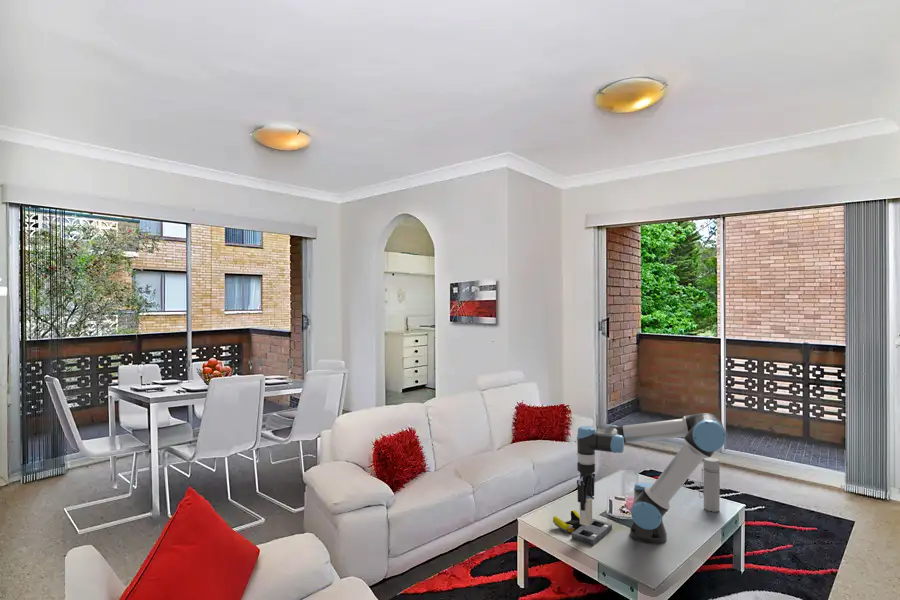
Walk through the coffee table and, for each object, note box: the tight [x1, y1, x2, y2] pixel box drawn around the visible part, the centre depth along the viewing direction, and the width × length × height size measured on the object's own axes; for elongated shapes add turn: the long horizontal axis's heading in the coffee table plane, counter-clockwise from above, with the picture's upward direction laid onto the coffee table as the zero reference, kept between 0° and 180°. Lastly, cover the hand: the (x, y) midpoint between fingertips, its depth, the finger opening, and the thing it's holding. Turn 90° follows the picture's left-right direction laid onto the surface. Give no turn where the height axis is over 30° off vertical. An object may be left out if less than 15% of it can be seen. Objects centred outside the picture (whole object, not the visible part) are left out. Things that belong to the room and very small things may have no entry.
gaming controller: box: [552, 509, 582, 533], centre depth 241 cm, size 15×6×10 cm
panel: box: [571, 518, 613, 547], centre depth 235 cm, size 10×20×3 cm, turn 140°
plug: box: [580, 496, 593, 526], centre depth 230 cm, size 4×4×12 cm
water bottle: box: [698, 457, 721, 513], centre depth 261 cm, size 9×8×25 cm
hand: (586, 515), depth 230 cm, fingers closed on plug, 4 cm apart
